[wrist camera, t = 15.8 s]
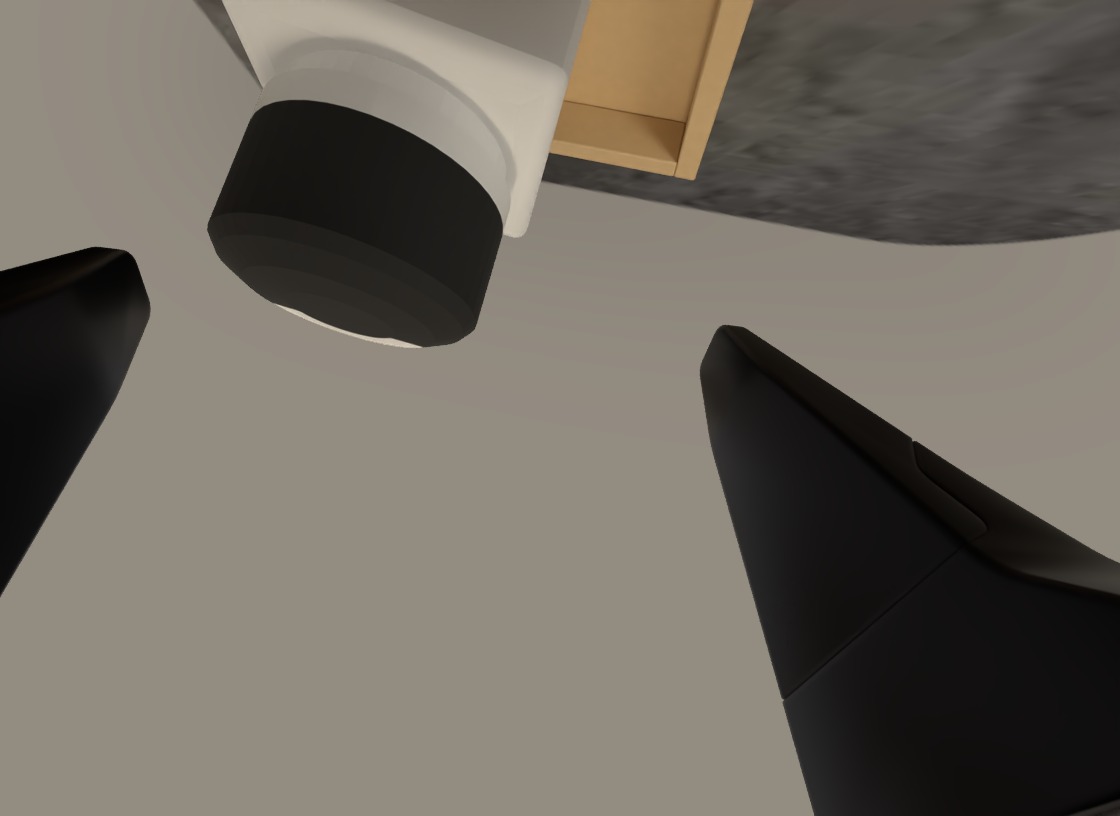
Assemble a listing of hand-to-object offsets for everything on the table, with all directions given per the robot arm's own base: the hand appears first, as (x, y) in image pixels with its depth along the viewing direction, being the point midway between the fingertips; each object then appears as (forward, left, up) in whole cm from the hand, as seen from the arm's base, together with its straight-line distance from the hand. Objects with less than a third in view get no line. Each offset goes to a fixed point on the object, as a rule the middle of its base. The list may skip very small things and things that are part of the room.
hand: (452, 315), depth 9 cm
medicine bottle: (-4, -4, -13) cm, 14 cm away
